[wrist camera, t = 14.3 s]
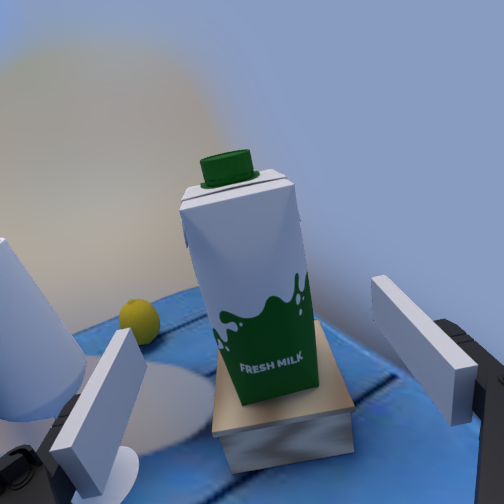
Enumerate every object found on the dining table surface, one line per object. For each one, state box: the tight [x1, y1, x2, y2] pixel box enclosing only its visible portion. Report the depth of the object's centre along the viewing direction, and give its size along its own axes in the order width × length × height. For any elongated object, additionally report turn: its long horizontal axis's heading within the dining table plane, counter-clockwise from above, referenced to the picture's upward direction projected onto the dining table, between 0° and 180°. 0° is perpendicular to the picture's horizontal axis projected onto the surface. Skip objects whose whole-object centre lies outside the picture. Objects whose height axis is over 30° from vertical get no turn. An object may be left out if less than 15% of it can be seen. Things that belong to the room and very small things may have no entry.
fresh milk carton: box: [179, 149, 319, 406], centre depth 26 cm, size 9×9×20 cm
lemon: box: [119, 299, 160, 345], centre depth 46 cm, size 6×6×8 cm
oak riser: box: [212, 320, 355, 474], centre depth 31 cm, size 12×12×6 cm
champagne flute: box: [0, 238, 139, 504], centre depth 24 cm, size 7×7×24 cm
